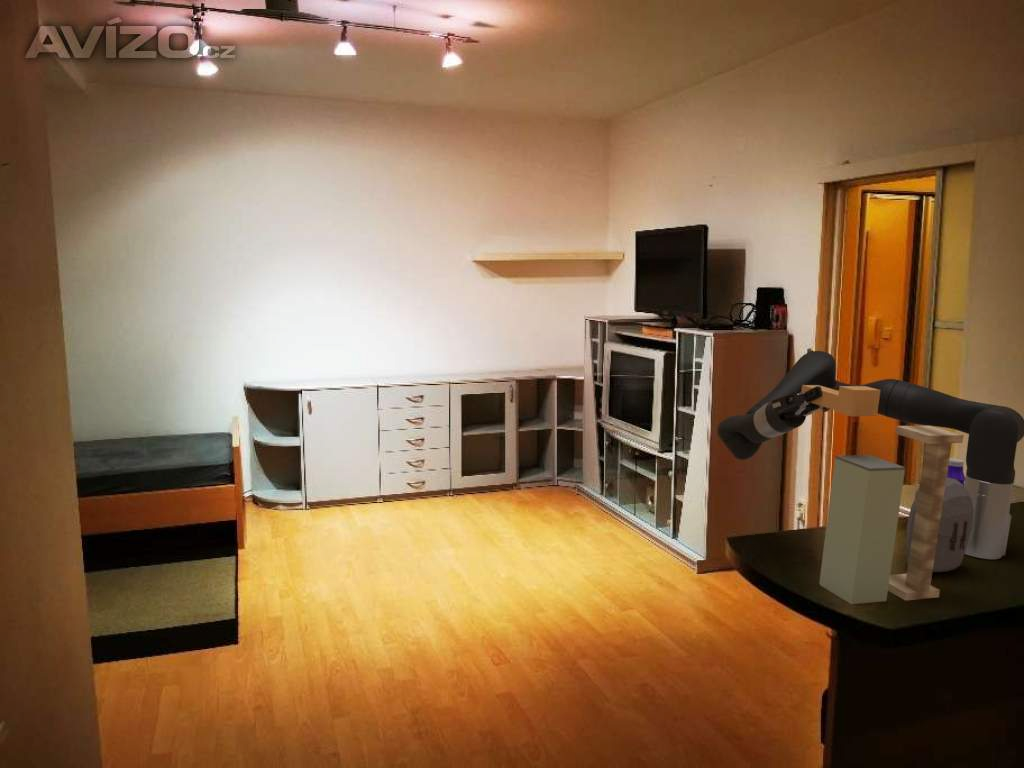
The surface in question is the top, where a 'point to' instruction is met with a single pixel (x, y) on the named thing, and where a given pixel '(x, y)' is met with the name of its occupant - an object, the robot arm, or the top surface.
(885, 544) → the tall grey-green pillar
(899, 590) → the tan table
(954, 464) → the bottle
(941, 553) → the soft grey pack
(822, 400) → the orange wooden block
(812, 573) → the top surface
